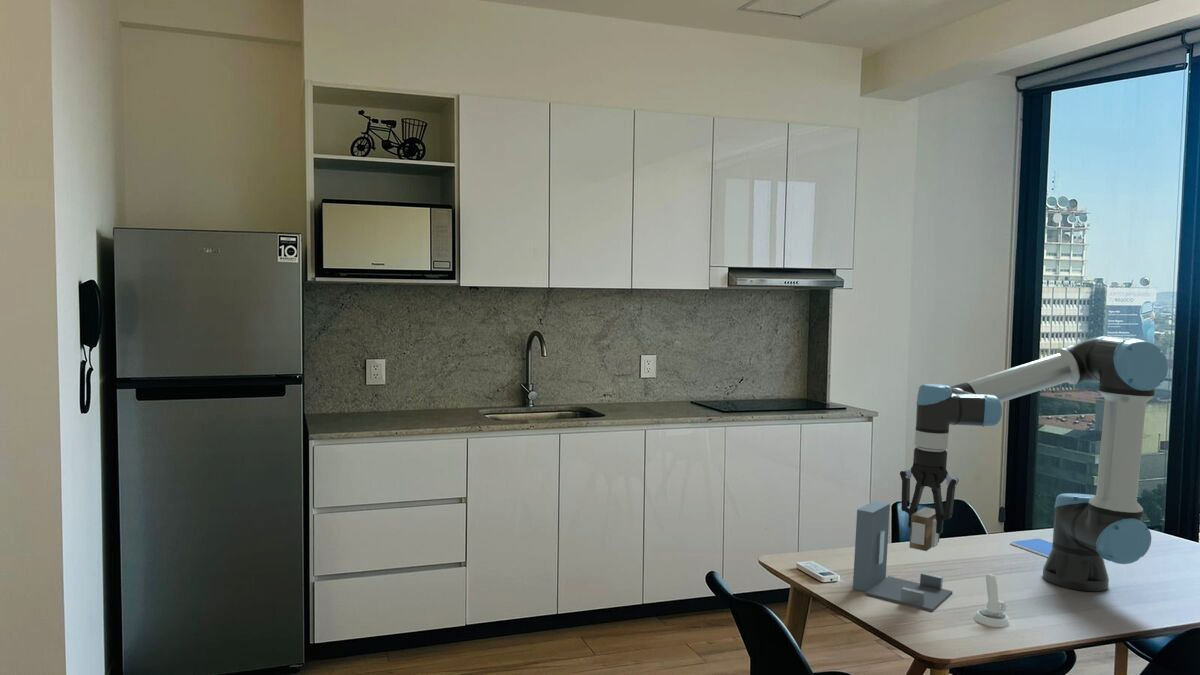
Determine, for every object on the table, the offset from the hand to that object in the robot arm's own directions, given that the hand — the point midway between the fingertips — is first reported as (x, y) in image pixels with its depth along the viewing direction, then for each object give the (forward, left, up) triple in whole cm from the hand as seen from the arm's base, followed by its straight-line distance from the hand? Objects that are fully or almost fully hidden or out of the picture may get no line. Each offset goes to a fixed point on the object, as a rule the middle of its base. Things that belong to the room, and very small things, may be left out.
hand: (924, 543), depth 213 cm
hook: (-17, +4, -14) cm, 22 cm away
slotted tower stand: (+5, 0, -13) cm, 14 cm away
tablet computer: (-17, -65, -14) cm, 69 cm away
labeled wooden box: (0, 0, 0) cm, 0 cm away
